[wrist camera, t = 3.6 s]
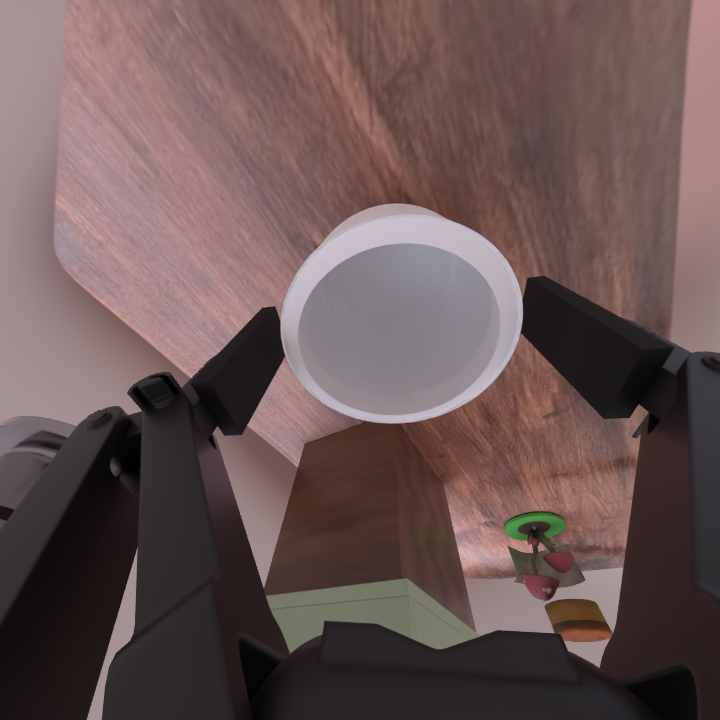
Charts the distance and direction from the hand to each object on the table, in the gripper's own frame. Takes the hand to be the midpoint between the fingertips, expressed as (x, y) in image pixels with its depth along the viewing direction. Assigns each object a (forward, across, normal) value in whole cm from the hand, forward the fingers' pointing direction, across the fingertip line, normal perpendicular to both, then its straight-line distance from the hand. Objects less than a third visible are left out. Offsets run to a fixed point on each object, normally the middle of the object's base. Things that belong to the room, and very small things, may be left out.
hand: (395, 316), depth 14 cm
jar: (+12, 0, 0) cm, 12 cm away
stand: (+12, -4, -32) cm, 34 cm away
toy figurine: (+12, +24, -53) cm, 59 cm away
